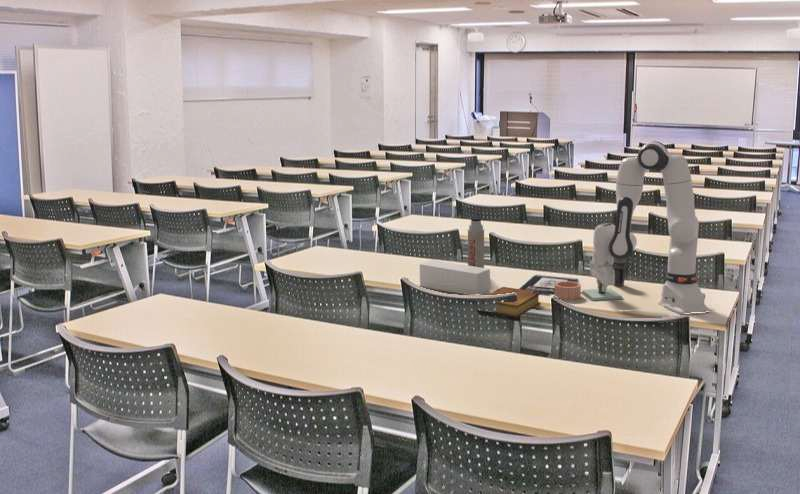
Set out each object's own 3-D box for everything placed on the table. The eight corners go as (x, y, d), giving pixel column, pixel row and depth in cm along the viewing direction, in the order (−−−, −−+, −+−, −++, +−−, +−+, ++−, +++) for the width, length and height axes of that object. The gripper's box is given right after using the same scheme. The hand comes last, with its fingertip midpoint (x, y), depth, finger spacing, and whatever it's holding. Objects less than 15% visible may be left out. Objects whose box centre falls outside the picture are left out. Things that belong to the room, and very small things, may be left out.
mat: (624, 300, 356) (624, 299, 356) (591, 302, 354) (591, 301, 354) (611, 291, 371) (611, 290, 370) (579, 293, 369) (579, 292, 368)
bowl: (583, 300, 358) (584, 287, 356) (559, 301, 356) (559, 288, 355) (575, 293, 368) (575, 280, 367) (551, 294, 367) (551, 281, 366)
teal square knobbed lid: (621, 298, 357) (622, 287, 356) (592, 300, 355) (593, 288, 354) (610, 290, 369) (610, 279, 368) (582, 292, 368) (582, 281, 366)
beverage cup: (625, 284, 382) (626, 242, 378) (627, 288, 375) (629, 246, 370) (609, 284, 383) (610, 242, 378) (611, 288, 376) (613, 245, 371)
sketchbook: (516, 293, 373) (516, 289, 372) (534, 278, 399) (535, 273, 399) (563, 298, 363) (563, 293, 363) (579, 281, 390) (579, 277, 389)
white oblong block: (489, 291, 375) (489, 268, 372) (477, 297, 367) (477, 273, 364) (433, 281, 394) (432, 259, 392) (419, 286, 386) (419, 264, 384)
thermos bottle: (475, 276, 400) (475, 220, 394) (464, 273, 407) (464, 218, 400) (487, 274, 405) (487, 218, 399) (476, 271, 411) (476, 216, 405)
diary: (501, 299, 364) (501, 286, 363) (540, 305, 354) (540, 292, 353) (477, 311, 345) (477, 298, 344) (517, 318, 335) (517, 304, 334)
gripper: (619, 264, 349) (618, 296, 352) (601, 254, 369) (600, 283, 372) (605, 265, 348) (603, 296, 351) (587, 255, 368) (586, 284, 371)
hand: (601, 290), depth 362 cm, fingers closed on teal square knobbed lid, 3 cm apart
